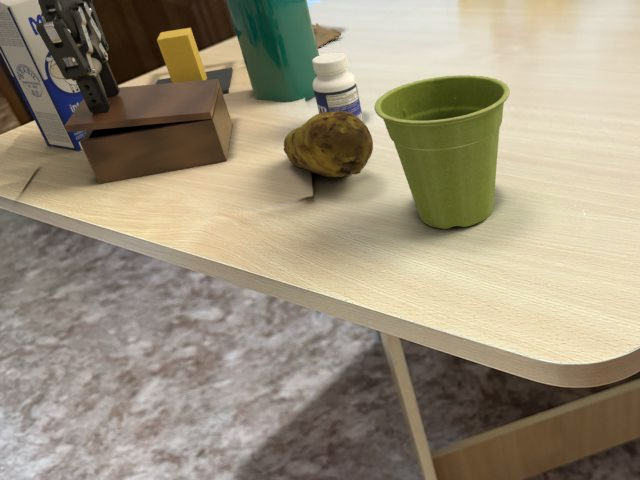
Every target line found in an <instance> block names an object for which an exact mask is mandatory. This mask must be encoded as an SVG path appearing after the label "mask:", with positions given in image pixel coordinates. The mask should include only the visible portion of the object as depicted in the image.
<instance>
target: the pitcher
mask: <svg viewBox="0 0 640 480" xmlns="http://www.w3.org/2000/svg"><path fill="white" fill-rule="evenodd" d="M226 4H227V8H228V10H229V13H230V17H231V20H232V24H233V28H234V30H235V34H236V38H237V41H238V44H239V47H240V51H241V54H242V58H243V61H244V65H245V69H246V71H247V75H248V78H249V82H250V85H251V89H252V92H253V95H254V99H255V100H258V101H267V102H268V101H269V102H278V103H279V102H280V103H292V102H298V101H300V100H303V99H304V101H305V102H306V101H309V100H310V99H312V98H314V97H315V94H314V90H313V81H314V79H315V78H316V77H317V76H318V75H317V74H316V73H315V71H314V67H313V62H312V60H313V59H314V58H315V57H317V56H320V54H319V48H317V44H316V40H315V35H314V31H313V26H312V24H313V22H312V18H311V14H310V10H309V5H308V1H307V0H226Z"/></svg>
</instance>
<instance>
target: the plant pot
mask: <svg viewBox="0 0 640 480" xmlns="http://www.w3.org/2000/svg"><path fill="white" fill-rule="evenodd" d="M510 92H511V91H510V87H509V86H508V84H507V83H506V82H504V81H503V80H499V79H498V78H493V77H490V76H483V75H470V74H462V75H444V76H443V75H442V76H436V77H429V78H425V79H419V80H415V81H413V82H409V83H405V84H402V85H399V86H396V87H395V88H391V89H390V90H388V91H387V92H385V93H384V94H382V95H381V96H379V97H378V98H377V100H376V101H375V103H374V105H373V106H374V107H373V108H374V111H375V113H376V115H377V116H378V117H379V118H381V119H382V120H383V123H384V125H385V127H386V130H387V134H388V137H389V138H390V139H391V141H392V142H393V145H394V147H395V149H396V153H397V156H398V159H399V161H400V164H401V167H402V170H403V173H404V176H405V178H406V181H407V185H408V188H409V190H410V193H411V195H412V199H413V201H414V204H415V208H416V211H417V214H418V216H419V218H420V220H421V221H422V222H423V223H424V224H426V225H427V226H430V227H433V228H437V229H442V230H443V229H450V228H452V227H461V228H466V227H471V226H473V225H476V224H478V223H480V222H482V221H484V220H486V219H487V218H488V217H489V216H490V215H491V214H492V213H493V209H494V205H495V195H496V194H495V193H496V192H495V191H496V179H497V178H496V175H497V164H498V153H499V152H498V151H499V140H500V139H499V138H500V128H501V126H502V123H503V116H504V115H503V114H504V105H505V102H507V100H508V98H509V96H510Z"/></svg>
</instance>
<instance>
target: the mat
mask: <svg viewBox="0 0 640 480" xmlns="http://www.w3.org/2000/svg"><path fill="white" fill-rule="evenodd" d="M233 71H234V70H233V67H227V68H220V69H213V70H209V71H205V72H206V75H207V80H212V79H218V80H219V84H220V86H221V90H222V93H223V95H224V94H225V95H226V94H229V91H230V86H231V82H232V76H233ZM165 83H172V80H171V78H170V77H166V78H159V79H157V80H156V82H155V84H165Z"/></svg>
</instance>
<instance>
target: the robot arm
mask: <svg viewBox="0 0 640 480" xmlns="http://www.w3.org/2000/svg"><path fill="white" fill-rule="evenodd" d="M38 3H39V5H40V8H41V12H42V13H41V17H42V20H43V22H42V23H36V29H37V31H38V33H39V35H40V36H41V38H42V40H43V42H44V43H45V45H46V47H47V49H48V50H49V52H50V54H51V56H52V57H53V59H54V61H55V63H56V64H57V66H58V68H59V70H60V71H61V73H62V75H63V77H64V78H65V79H66V80H68V79H72V80H73V81H75V80H76V83H77V85H78V87H79V90H80V92H81V94H82V96H83V98H84V100H85V102H86V104H87V107H88V109H89V111H90V112H91V113H94V114H96V113H101V112H107V111H108V110H109V109H110V107H111V105H110V103H109V101H108V98H107V97H112V96H117V95H118V94H119V92H120V90H119V85H118V83H117V81H116V78H115V75H114V73H113V71H112V68H111V66H110V64H109V62H108V61H109V54H108V53H107V51H109V50H110V49H109V44H108V42H107V40H106V39H107V38H106V36H105V33H104V31H103V27H102V25H101V22H100V20H99V17H98V14H97V12H96V9H95V6H94V3H93V0H38ZM91 57H92V58H96V59H97V60H98V61H99V62H100V63H101V65H102V70H101V71H100V73H99V75H100V78H101V81H102V84H103V87H104V89H103V87H102V85H101V83H100V80H99V78H98V76H96V70H95V68H94V65H93V62H92V59H91ZM73 58H74V59H75V61H76V62H77V64H78V65H74V63H73V60H72V59H73ZM63 59H64V60H63ZM104 90H105V92H104ZM105 93H106V94H105Z"/></svg>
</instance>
